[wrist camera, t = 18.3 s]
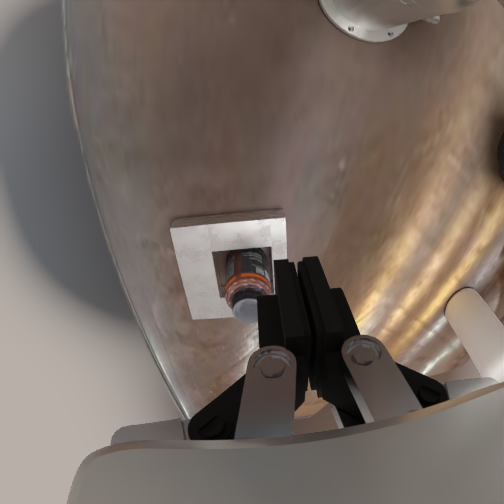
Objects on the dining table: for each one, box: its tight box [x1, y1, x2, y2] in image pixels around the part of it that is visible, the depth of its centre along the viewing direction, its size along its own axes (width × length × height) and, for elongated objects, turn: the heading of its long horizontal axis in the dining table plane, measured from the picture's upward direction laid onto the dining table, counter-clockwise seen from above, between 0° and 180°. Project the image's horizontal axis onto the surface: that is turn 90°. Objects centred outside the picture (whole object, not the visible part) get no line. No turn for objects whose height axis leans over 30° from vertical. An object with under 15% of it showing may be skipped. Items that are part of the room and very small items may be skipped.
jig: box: [170, 209, 287, 319], centre depth 44 cm, size 15×16×3 cm
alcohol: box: [445, 288, 504, 383], centre depth 39 cm, size 9×9×30 cm
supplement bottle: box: [225, 248, 272, 323], centre depth 41 cm, size 6×6×11 cm
